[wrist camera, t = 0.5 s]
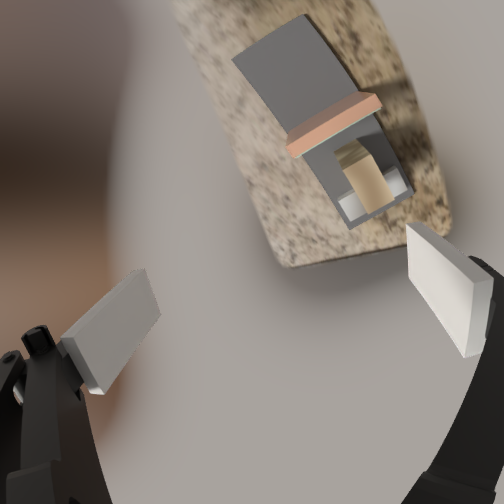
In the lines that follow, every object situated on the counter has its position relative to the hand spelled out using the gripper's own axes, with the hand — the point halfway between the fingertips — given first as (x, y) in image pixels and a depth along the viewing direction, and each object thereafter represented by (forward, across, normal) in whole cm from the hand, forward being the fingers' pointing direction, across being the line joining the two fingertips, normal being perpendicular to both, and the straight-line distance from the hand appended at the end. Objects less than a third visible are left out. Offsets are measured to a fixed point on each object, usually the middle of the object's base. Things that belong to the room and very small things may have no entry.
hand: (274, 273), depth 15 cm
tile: (+22, +6, +8) cm, 24 cm away
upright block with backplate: (+23, +9, +2) cm, 25 cm away
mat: (+23, +7, +7) cm, 25 cm away
